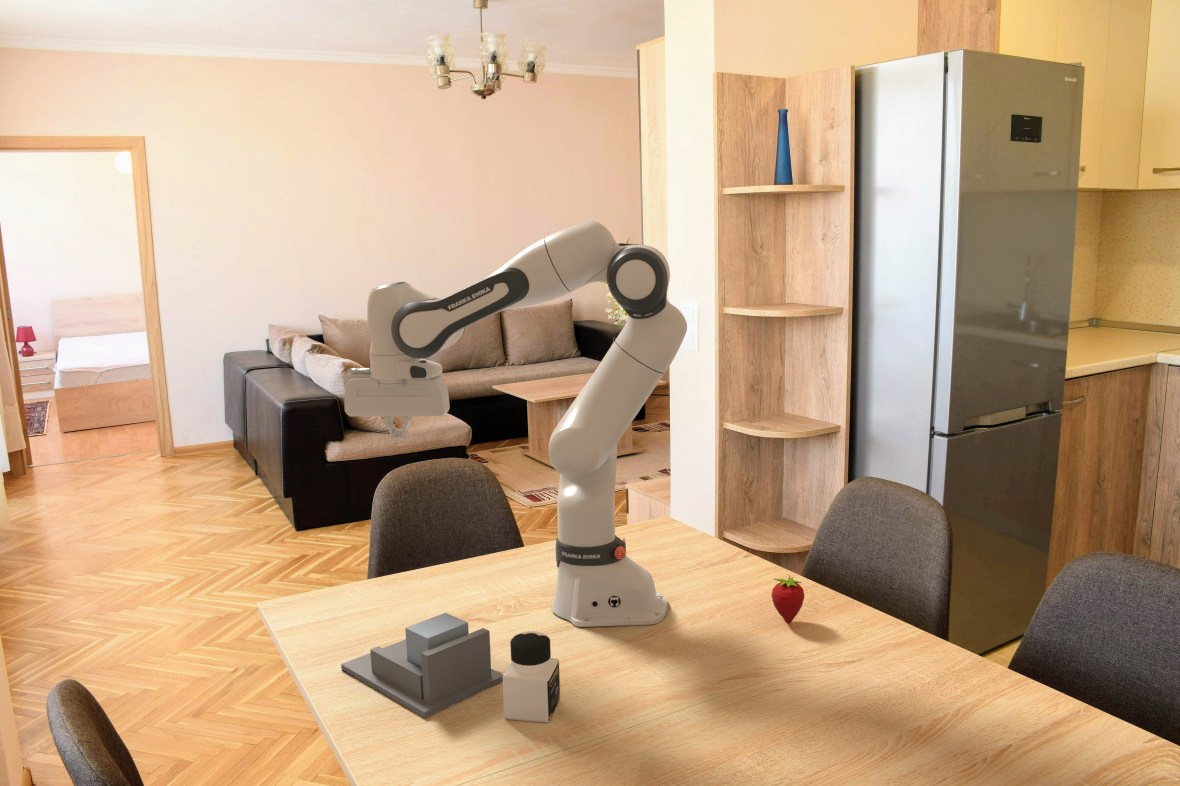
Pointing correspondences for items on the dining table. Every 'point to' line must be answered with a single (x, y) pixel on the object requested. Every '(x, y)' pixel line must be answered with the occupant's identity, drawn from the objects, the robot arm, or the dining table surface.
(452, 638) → the key block
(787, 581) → the strawberry
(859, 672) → the dining table surface
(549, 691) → the medicine bottle
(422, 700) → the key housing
